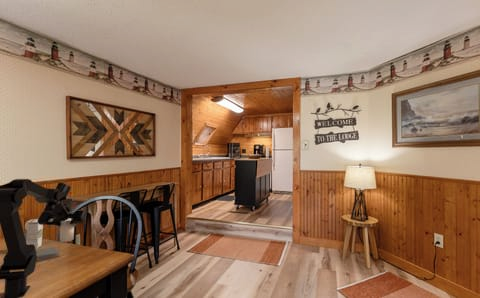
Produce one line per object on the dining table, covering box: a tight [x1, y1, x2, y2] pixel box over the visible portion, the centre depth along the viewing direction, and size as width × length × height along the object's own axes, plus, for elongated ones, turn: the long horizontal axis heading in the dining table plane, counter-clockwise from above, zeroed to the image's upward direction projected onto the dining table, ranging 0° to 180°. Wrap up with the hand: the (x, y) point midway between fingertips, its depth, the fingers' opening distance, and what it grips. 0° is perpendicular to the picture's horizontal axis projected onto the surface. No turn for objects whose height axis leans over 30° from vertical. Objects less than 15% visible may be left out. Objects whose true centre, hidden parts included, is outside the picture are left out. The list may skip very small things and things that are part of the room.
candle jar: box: [59, 218, 75, 243], centre depth 116 cm, size 6×6×10 cm
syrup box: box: [24, 218, 44, 250], centre depth 123 cm, size 6×6×14 cm
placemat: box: [35, 245, 61, 263], centre depth 115 cm, size 16×11×1 cm
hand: (68, 225), depth 118 cm, fingers closed on candle jar, 6 cm apart
